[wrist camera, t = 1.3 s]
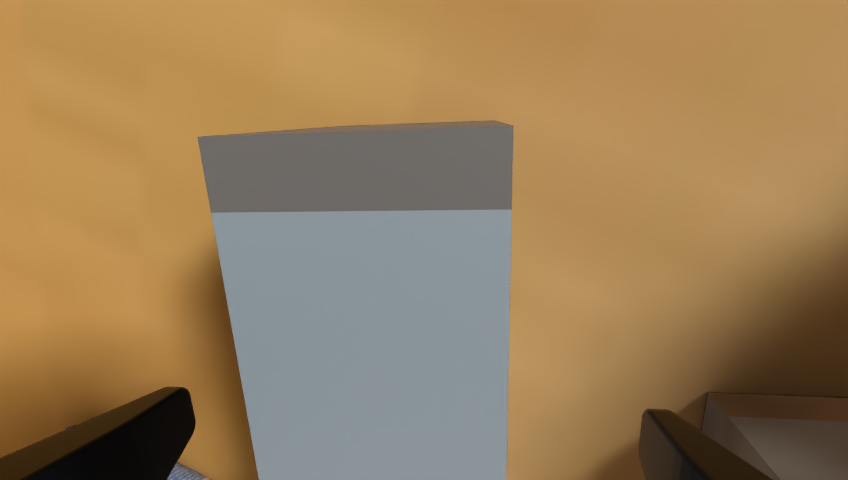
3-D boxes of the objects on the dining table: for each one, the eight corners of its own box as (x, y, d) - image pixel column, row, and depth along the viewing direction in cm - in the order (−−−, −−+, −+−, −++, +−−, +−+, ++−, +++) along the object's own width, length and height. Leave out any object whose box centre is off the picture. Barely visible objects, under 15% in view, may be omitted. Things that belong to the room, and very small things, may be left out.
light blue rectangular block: (494, 120, 11) (512, 125, 5) (491, 474, 14) (500, 729, 8) (340, 126, 11) (198, 137, 6) (370, 466, 14) (298, 701, 9)
